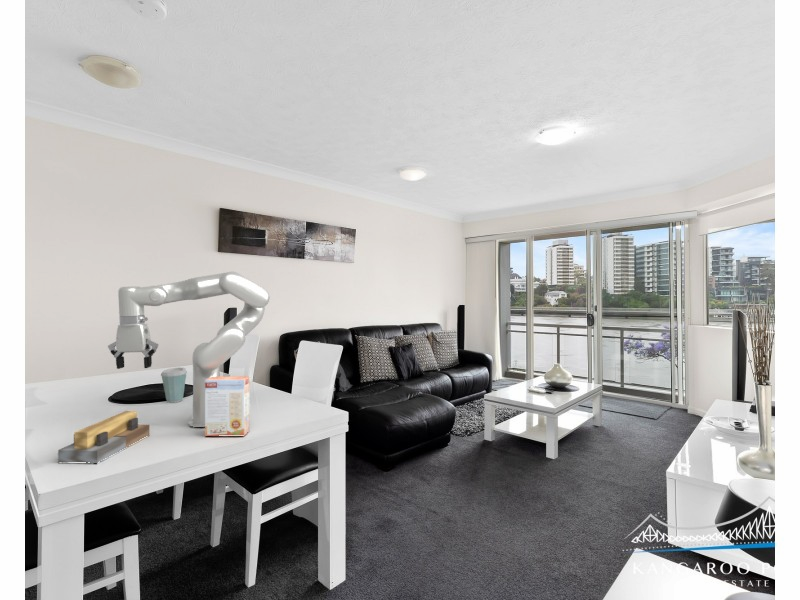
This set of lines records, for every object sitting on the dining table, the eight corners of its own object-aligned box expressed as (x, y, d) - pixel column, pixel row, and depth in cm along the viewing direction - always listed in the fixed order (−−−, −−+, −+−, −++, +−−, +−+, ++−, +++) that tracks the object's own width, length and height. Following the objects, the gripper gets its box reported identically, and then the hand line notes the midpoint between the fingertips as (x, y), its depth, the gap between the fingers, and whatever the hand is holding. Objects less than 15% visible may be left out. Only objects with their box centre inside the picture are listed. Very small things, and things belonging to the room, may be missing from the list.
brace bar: (136, 425, 144) (136, 411, 144) (87, 448, 122) (87, 432, 122) (125, 424, 144) (125, 410, 144) (74, 448, 122) (74, 432, 122)
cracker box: (249, 431, 150) (250, 375, 150) (244, 437, 144) (244, 379, 144) (211, 431, 150) (211, 375, 149) (204, 437, 144) (204, 379, 143)
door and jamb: (149, 435, 145) (149, 414, 145) (97, 464, 121) (97, 439, 121) (116, 434, 145) (116, 414, 145) (58, 463, 121) (58, 438, 121)
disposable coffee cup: (178, 404, 185) (178, 371, 185) (155, 403, 185) (155, 371, 185) (191, 398, 196) (191, 367, 195) (169, 397, 196) (169, 367, 195)
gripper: (162, 319, 150) (164, 365, 151) (114, 320, 149) (116, 366, 150) (150, 321, 142) (152, 369, 143) (100, 322, 142) (102, 370, 143)
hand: (134, 367), depth 147 cm, fingers open, 9 cm apart
